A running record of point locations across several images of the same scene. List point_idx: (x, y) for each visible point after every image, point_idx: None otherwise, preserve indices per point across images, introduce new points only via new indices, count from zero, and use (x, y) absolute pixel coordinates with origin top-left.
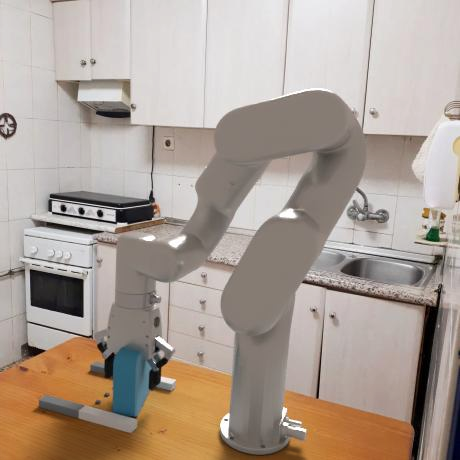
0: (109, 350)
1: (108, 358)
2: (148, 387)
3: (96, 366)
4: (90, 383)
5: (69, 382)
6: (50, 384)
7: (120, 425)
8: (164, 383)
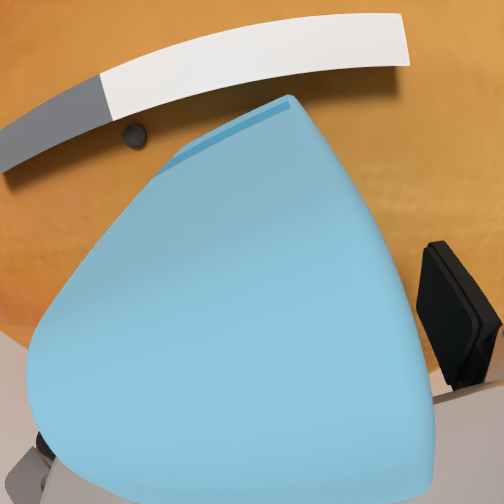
0: None
1: None
2: (419, 316)
3: (1, 173)
4: (68, 228)
5: (35, 260)
6: (26, 292)
7: None
8: (363, 66)
